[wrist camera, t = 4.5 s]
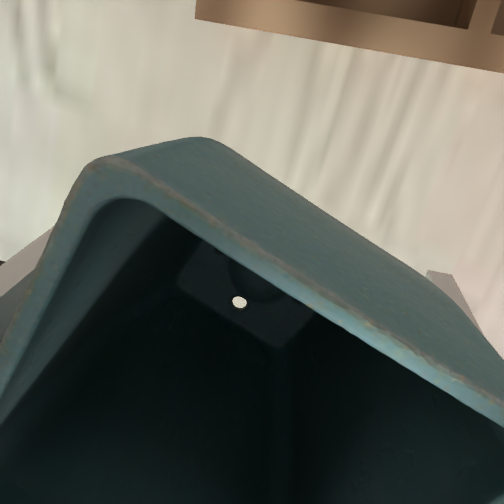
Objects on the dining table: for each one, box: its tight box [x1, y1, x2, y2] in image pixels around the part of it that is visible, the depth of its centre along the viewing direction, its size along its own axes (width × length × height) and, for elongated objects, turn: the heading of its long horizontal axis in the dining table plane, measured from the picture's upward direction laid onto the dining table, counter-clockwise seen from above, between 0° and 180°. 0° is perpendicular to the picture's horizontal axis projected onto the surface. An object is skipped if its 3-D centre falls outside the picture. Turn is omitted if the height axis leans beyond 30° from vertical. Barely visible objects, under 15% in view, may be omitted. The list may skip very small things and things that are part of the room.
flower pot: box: [0, 137, 504, 504], centre depth 13 cm, size 9×9×9 cm
